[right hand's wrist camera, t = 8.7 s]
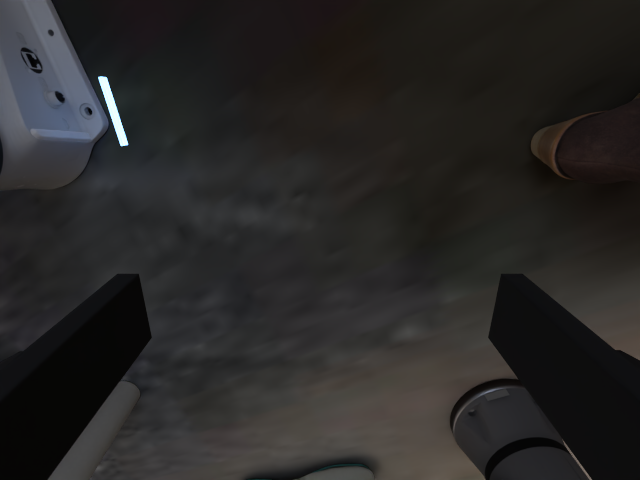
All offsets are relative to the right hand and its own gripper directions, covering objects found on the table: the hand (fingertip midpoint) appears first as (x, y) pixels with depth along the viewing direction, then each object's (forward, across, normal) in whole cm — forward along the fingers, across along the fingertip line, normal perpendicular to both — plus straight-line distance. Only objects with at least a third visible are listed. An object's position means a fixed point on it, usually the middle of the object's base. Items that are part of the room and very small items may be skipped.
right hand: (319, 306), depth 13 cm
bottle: (+31, +30, +34) cm, 55 cm away
